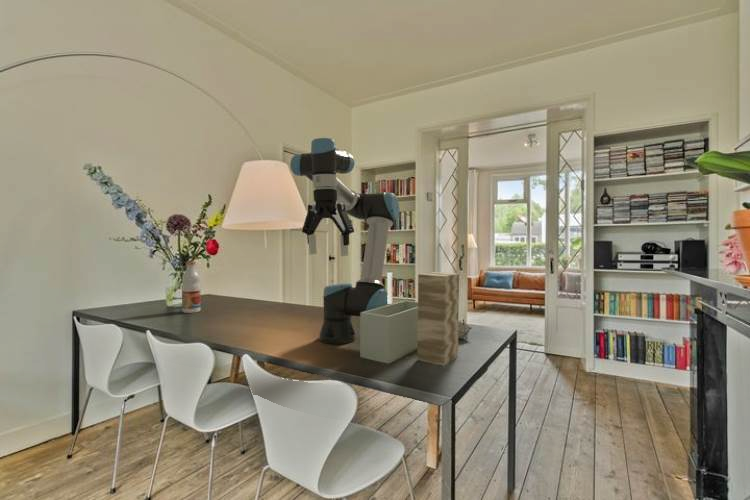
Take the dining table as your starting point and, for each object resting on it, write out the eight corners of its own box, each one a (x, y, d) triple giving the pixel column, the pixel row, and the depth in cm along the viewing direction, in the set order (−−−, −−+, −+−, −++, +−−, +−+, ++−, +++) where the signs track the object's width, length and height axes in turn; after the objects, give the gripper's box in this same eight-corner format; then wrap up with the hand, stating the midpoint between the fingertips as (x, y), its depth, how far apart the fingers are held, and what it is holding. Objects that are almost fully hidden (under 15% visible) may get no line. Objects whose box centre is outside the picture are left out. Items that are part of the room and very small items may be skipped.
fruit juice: (187, 309, 210) (186, 261, 209) (203, 309, 211) (203, 261, 210) (178, 313, 201) (178, 262, 200) (196, 313, 201) (195, 263, 200)
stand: (443, 365, 121) (445, 276, 120) (417, 359, 127) (418, 274, 126) (457, 356, 131) (459, 273, 130) (432, 351, 137) (433, 271, 136)
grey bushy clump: (464, 348, 153) (472, 333, 147) (444, 340, 154) (452, 324, 148) (467, 333, 160) (475, 318, 154) (449, 325, 161) (456, 310, 155)
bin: (388, 363, 123) (388, 316, 122) (360, 356, 130) (360, 312, 129) (429, 342, 148) (430, 303, 147) (404, 337, 155) (404, 300, 154)
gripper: (289, 190, 119) (292, 254, 122) (348, 185, 105) (351, 258, 108) (305, 191, 126) (308, 252, 128) (363, 186, 112) (366, 255, 114)
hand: (328, 255), depth 118 cm, fingers open, 13 cm apart
